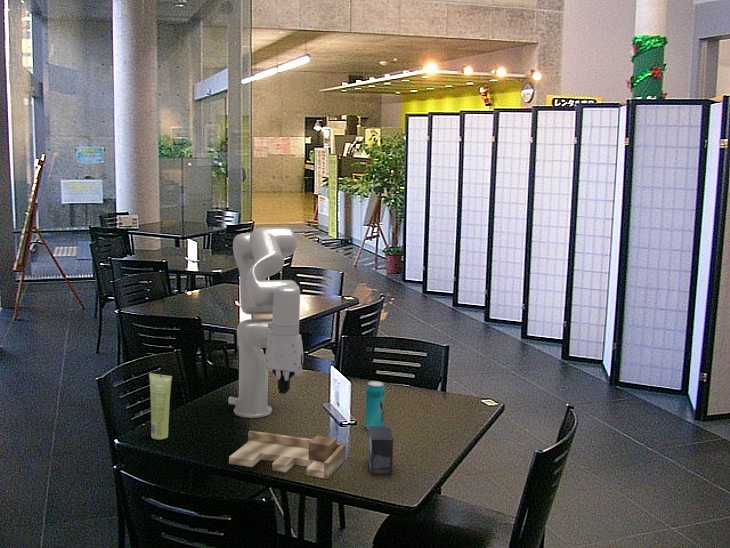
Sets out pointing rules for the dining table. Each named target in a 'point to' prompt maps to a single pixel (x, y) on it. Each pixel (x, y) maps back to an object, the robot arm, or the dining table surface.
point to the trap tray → (285, 454)
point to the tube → (160, 405)
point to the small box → (380, 450)
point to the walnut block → (321, 448)
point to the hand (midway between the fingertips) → (283, 392)
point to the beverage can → (375, 404)
